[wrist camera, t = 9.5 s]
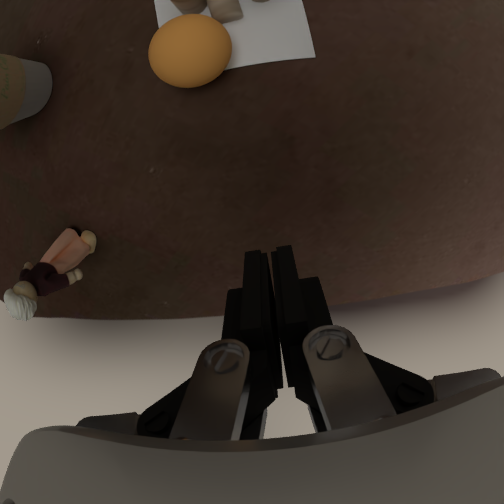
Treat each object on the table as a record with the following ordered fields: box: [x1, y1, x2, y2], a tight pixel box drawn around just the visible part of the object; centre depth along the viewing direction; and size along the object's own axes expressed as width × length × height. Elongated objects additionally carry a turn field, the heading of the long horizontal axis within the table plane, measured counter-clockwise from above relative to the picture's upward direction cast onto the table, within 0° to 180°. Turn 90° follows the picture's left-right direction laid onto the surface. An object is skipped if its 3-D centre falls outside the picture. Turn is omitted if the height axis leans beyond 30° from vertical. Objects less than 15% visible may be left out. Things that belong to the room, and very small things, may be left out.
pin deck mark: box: [154, 0, 315, 70], centre depth 17 cm, size 12×10×1 cm
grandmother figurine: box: [4, 228, 96, 321], centre depth 21 cm, size 8×4×13 cm, turn 96°
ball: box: [149, 14, 232, 88], centre depth 16 cm, size 6×6×6 cm
